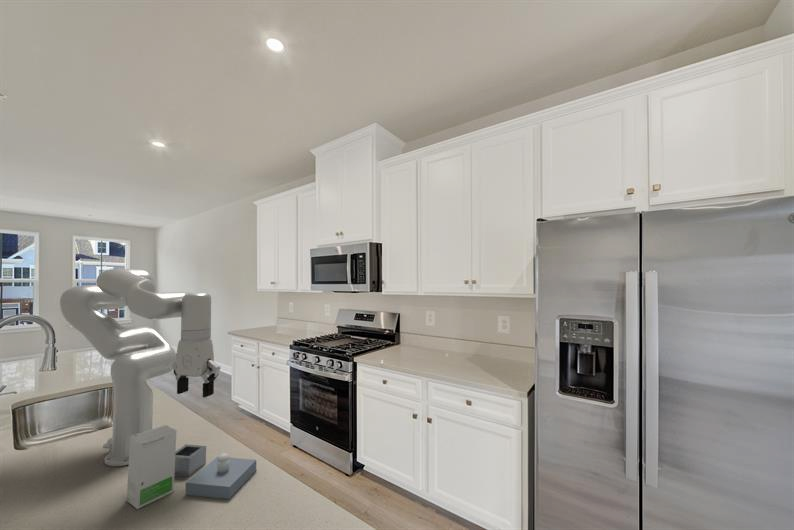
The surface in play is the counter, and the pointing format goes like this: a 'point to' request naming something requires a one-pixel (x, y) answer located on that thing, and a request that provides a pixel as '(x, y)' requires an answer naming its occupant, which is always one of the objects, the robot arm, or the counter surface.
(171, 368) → the robot arm
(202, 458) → the grey open box
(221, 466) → the shaft block
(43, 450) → the counter surface
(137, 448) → the skincare box
